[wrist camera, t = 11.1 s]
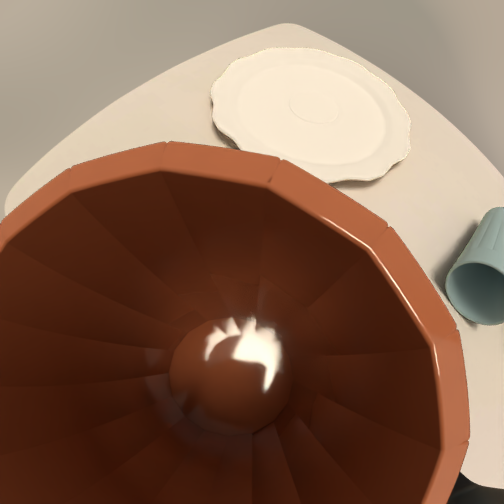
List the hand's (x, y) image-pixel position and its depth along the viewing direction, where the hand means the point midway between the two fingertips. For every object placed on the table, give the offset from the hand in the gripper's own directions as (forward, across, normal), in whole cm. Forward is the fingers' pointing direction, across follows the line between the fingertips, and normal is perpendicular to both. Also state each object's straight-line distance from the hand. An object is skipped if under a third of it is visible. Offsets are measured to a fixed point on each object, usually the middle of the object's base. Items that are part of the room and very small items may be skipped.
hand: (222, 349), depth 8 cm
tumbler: (+4, 0, +6) cm, 7 cm away
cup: (+16, -20, -4) cm, 26 cm away
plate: (+25, -4, -9) cm, 27 cm away
